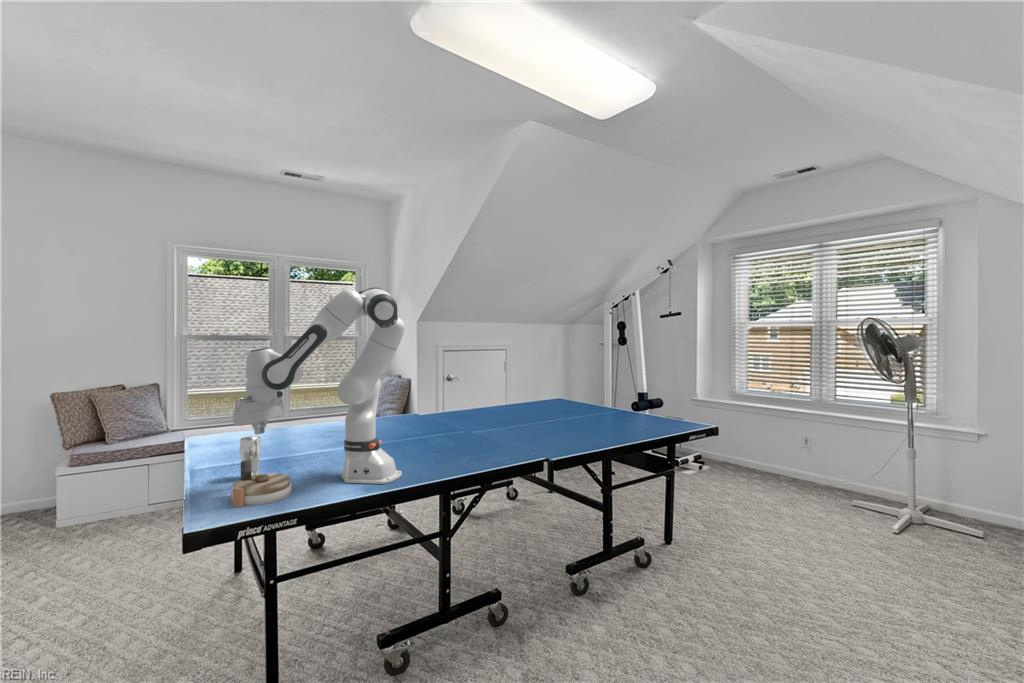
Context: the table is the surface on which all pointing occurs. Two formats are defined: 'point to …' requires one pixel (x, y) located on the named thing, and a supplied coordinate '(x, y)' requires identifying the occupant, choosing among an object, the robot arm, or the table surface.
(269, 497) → the stand
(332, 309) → the robot arm
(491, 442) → the table surface
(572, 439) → the table surface
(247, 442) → the beer glass
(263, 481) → the tan disc with handle
